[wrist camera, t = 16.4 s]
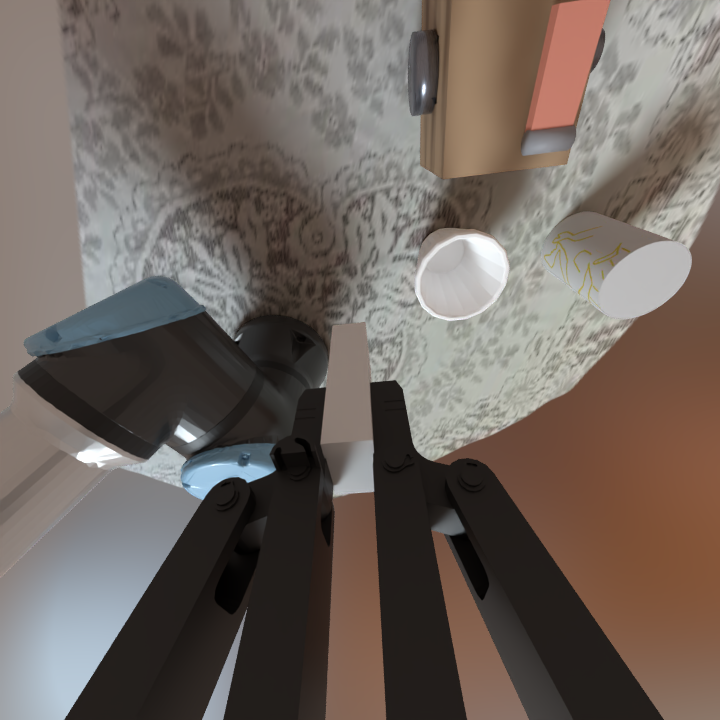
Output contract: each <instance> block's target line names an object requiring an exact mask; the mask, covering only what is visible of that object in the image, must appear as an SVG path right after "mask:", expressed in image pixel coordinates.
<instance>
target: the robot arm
mask: <svg viewBox="0 0 720 720" xmlns="http://www.w3.org/2000/svg"><path fill="white" fill-rule="evenodd" d="M205 310H206V308H205V307H204V306H203V305H199V304H198V303H197V302H196V301H195V300H194V299H193V298H192V297H191V296H190V295H189V294H188V293H187V292H186V291H185V290H184V289H183V288H182V287H181V286H180V285H179V284H178V283H177V282H175V281H174V280H172V279H170V278H167V277H163V276H152V277H149V278H146V279H144V280H142V281H140V282H138V283H136V284H134V285H132V286H130V287H128V288H126V289H124V290H122V291H120V292H118V293H116V294H114V295H112V296H110V297H108V298H106V299H104V300H102V301H100V302H98V303H96V304H94V305H92V306H90V307H88V308H86V309H84V310H82V311H80V312H78V313H76V314H74V315H72V316H70V317H68V318H66V319H64V320H62V321H60V322H58V323H56V324H54V325H52V326H50V327H48V328H46V329H44V330H42V331H40V332H38V333H36V334H34V335H32V336H30V337H28V338H26V339H25V340H24V346H25V348H26V349H27V353H28V354H30V355H31V356H37V358H36V359H35V360H34V361H32V362H31V363H29V364H28V365H27V366H25V367H24V368H22V369H21V370H19V371H18V372H16V373H15V374H14V375H13V400H12V403H11V405H10V406H9V407H7V408H6V409H5V410H3V411H2V412H1V413H0V578H1V577H2V576H3V575H4V574H5V573H6V572H7V571H8V570H9V569H10V568H11V567H12V566H13V565H14V564H15V563H16V562H17V561H18V560H19V559H20V558H22V557H23V556H24V554H26V553H27V552H28V551H29V550H30V549H31V548H32V547H33V546H34V545H35V544H36V543H37V542H38V541H39V540H40V539H41V538H42V537H43V536H44V535H45V534H46V533H47V532H49V531H50V530H51V529H52V528H53V527H54V526H55V525H56V524H57V523H58V522H59V521H60V520H61V519H62V518H63V517H64V516H65V515H66V514H67V513H68V512H69V511H70V510H71V509H72V508H73V507H74V506H75V505H76V504H77V503H79V502H80V501H81V499H83V498H84V497H85V496H86V495H87V494H88V493H89V492H90V491H91V490H92V489H93V488H94V487H95V486H96V485H97V484H98V483H99V482H100V481H101V480H102V479H103V478H104V477H106V475H108V474H109V473H110V472H111V470H113V469H115V468H118V467H121V466H127V465H133V464H139V463H145V462H146V461H147V460H149V458H150V457H151V456H152V455H153V454H154V453H155V452H156V451H157V450H158V449H159V448H160V447H162V446H163V445H164V444H166V445H168V446H169V447H171V448H172V449H174V450H175V451H177V452H178V453H179V454H181V455H182V456H184V457H185V458H186V460H187V461H186V462H185V463H184V464H183V466H182V468H181V472H182V474H181V481H182V485H183V487H184V488H185V490H186V491H188V492H189V493H190V494H191V495H193V496H195V497H197V498H199V499H202V500H203V501H202V503H201V504H200V506H199V507H198V509H197V511H196V512H195V514H194V515H193V517H192V518H191V520H190V522H189V523H188V525H187V527H186V528H185V529H184V531H183V533H182V534H181V536H180V537H179V539H178V541H177V542H176V544H175V545H174V547H173V548H172V550H171V552H170V553H169V555H168V556H167V558H166V560H165V561H164V563H163V564H162V566H161V567H160V569H159V571H158V572H157V574H156V575H155V577H154V579H153V580H152V582H151V584H150V585H149V586H148V588H147V590H146V591H145V593H144V594H143V596H142V598H141V599H140V601H139V602H138V604H137V606H136V607H135V609H134V610H133V612H132V613H131V615H130V617H129V618H128V620H127V621H126V623H125V625H124V626H123V628H122V629H121V631H120V632H119V634H118V636H117V637H116V639H115V640H114V642H113V644H112V645H111V647H110V648H109V650H108V651H107V653H106V655H105V656H104V658H103V660H102V661H101V663H100V664H99V666H98V667H97V669H96V671H95V672H94V674H93V675H92V677H91V678H90V680H89V682H88V683H87V685H86V687H85V688H84V689H83V691H82V693H81V694H80V696H79V697H78V699H77V701H76V702H75V704H74V705H73V707H72V708H71V710H70V712H69V713H68V715H67V716H66V718H65V720H202V718H203V716H204V713H205V711H206V708H207V706H208V703H209V701H210V698H211V696H212V693H213V691H214V689H215V686H216V684H217V681H218V679H219V676H220V674H221V671H222V669H223V666H224V664H225V661H226V659H227V657H228V654H229V651H230V649H231V647H232V644H233V642H234V639H235V637H236V634H237V632H238V629H239V627H240V624H241V622H242V620H243V617H244V615H245V612H246V610H247V613H246V617H245V622H244V627H243V631H242V636H241V640H240V645H239V650H238V655H237V659H236V664H235V668H234V674H233V678H232V682H231V687H230V691H229V696H228V701H227V705H226V710H225V714H224V719H223V720H325V714H326V713H325V712H326V691H327V670H328V646H329V626H330V604H331V581H332V558H333V537H334V535H333V534H334V513H335V511H334V505H333V502H332V499H333V489H334V493H335V495H336V494H350V493H363V492H374V497H375V516H376V535H377V553H378V571H379V589H380V608H381V627H382V646H383V664H384V683H385V702H386V720H467V718H466V712H465V707H464V702H463V697H462V691H461V686H460V680H459V675H458V670H457V665H456V660H455V654H454V649H453V644H452V638H451V633H450V628H449V622H448V617H447V612H446V606H445V601H444V596H443V591H442V585H441V580H440V575H439V570H438V564H437V559H436V554H435V549H434V543H433V537H432V532H431V530H434V531H437V532H441V533H444V535H445V537H446V539H447V542H448V544H449V546H450V548H451V550H452V553H453V555H454V557H455V559H456V561H457V563H458V565H459V568H460V570H461V572H462V574H463V576H464V578H465V581H466V583H467V585H468V587H469V589H470V592H471V594H472V596H473V598H474V600H475V603H476V604H477V607H478V609H479V611H480V613H481V615H482V618H483V619H484V622H485V624H486V626H487V628H488V631H489V633H490V635H491V637H492V639H493V642H494V644H495V646H496V648H497V650H498V652H499V654H500V657H501V659H502V661H503V663H504V666H505V668H506V670H507V672H508V674H509V676H510V679H511V681H512V683H513V685H514V687H515V689H516V692H517V694H518V696H519V698H520V700H521V703H522V705H523V707H524V709H525V711H526V713H527V716H528V718H529V720H664V719H663V718H662V716H661V715H660V714H659V712H658V710H657V709H656V708H655V706H654V705H653V703H652V702H651V701H650V699H649V697H648V696H647V695H646V693H645V692H644V690H643V689H642V688H641V686H640V684H639V683H638V681H637V680H636V679H635V677H634V676H633V674H632V673H631V671H630V670H629V668H628V667H627V665H626V664H625V663H624V661H623V660H622V658H621V657H620V655H619V654H618V652H617V651H616V650H615V648H614V647H613V645H612V644H611V642H610V641H609V639H608V638H607V637H606V635H605V634H604V632H603V631H602V629H601V628H600V626H599V625H598V623H597V622H596V621H595V619H594V618H593V616H592V615H591V613H590V612H589V610H588V609H587V608H586V606H585V605H584V603H583V602H582V600H581V599H580V598H579V596H578V594H577V593H576V592H575V590H574V589H573V587H572V586H571V584H570V583H569V582H568V580H567V579H566V577H565V576H564V574H563V573H562V571H561V570H560V568H559V567H558V566H557V564H556V563H555V561H554V560H553V558H552V557H551V556H550V554H549V553H548V551H547V550H546V548H545V547H544V545H543V544H542V543H541V541H540V540H539V538H538V537H537V535H536V534H535V533H534V531H533V529H532V528H531V526H530V525H529V524H528V522H527V521H526V519H525V518H524V516H523V515H522V514H521V512H520V511H519V509H518V508H517V506H516V505H515V503H514V502H513V500H512V499H511V498H510V496H509V495H508V493H507V492H506V490H505V489H504V488H503V486H502V484H501V483H500V482H499V480H498V479H497V477H496V476H495V474H494V473H493V472H492V471H491V470H490V469H489V468H488V466H487V465H485V464H483V463H481V462H479V461H478V460H473V459H469V458H466V459H458V460H457V461H455V462H453V463H451V465H445V464H441V463H436V462H433V461H430V460H428V459H426V458H424V457H422V456H421V455H420V454H419V453H418V452H417V451H416V449H415V448H414V445H413V442H412V437H411V432H410V426H409V421H408V416H407V410H406V405H405V399H404V394H403V389H402V388H401V387H400V385H399V384H398V383H397V382H396V380H394V381H383V382H372V383H371V369H370V360H369V351H368V341H367V332H366V323H365V322H361V323H351V324H341V325H333V326H332V336H331V345H330V355H329V365H328V352H327V348H326V346H325V344H324V342H323V340H322V339H321V337H320V336H319V335H318V334H317V333H316V332H315V331H314V330H313V329H312V328H310V327H309V326H308V325H306V324H304V323H302V322H300V321H298V320H296V319H293V318H289V317H285V316H276V315H272V316H263V317H259V318H256V319H253V320H251V321H249V322H247V323H246V324H245V325H243V326H242V327H241V328H240V329H239V331H238V332H237V334H236V335H235V337H234V339H233V340H232V339H231V337H230V336H229V335H228V334H227V333H226V332H225V331H224V330H223V329H222V328H221V327H220V326H219V325H218V324H217V323H216V321H215V320H214V319H213V318H212V317H211V316H210V315H209V314H208V313H207V312H206V311H205ZM327 367H328V375H327V384H326V387H325V388H319V387H320V385H321V384H322V382H323V381H324V379H325V376H326V373H327ZM247 607H248V608H247Z"/></svg>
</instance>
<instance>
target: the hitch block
mask: <svg viewBox="0 0 720 720" xmlns="http://www.w3.org/2000/svg"><path fill="white" fill-rule="evenodd" d="M572 1H579V0H422V31H424V30H431V29H435V31H436V34H437V39H438V52H439V68H438V85H437V95H436V101H435V106H434V109H433V112H432V113H431V114H426V115H421V138H420V165H421V166H422V167H424V168H425V169H427V170H429V171H430V172H432V173H434V174H435V175H437V176H438V177H440V178H442V179H450V178H458V177H466V176H474V175H483V174H491V173H499V172H507V171H516V170H524V169H532V168H540V167H549V166H557V165H565V164H567V161H568V158H569V154H570V150H571V148H570V149H569V150H567V151H558V152H550V153H542V154H534V155H526V156H523V155H522V153H521V142H522V138H523V135H524V133H525V129H526V124H527V120H528V115H529V110H530V106H531V101H532V96H533V92H534V87H535V82H536V78H537V73H538V68H539V64H540V59H541V54H542V50H543V45H544V40H545V36H546V31H547V26H548V22H549V17H550V12H551V8H552V5H556V4H559V3H565V2H572ZM595 51H596V50H595ZM594 55H595V54H594ZM593 59H594V57H593ZM592 63H593V60H592ZM591 67H592V64H591ZM591 67H590V70H589V74H588V77H587V80H586V84H585V87H584V91H583V94H582V97H581V101H580V104H579V107H578V111H577V114H576V117H575V121H574V124H573V125H575V127H576V126H577V122H578V118H579V114H580V110H581V106H582V102H583V99H584V95H585V91H586V87H587V83H588V79H589V75H590V71H591Z"/></svg>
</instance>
